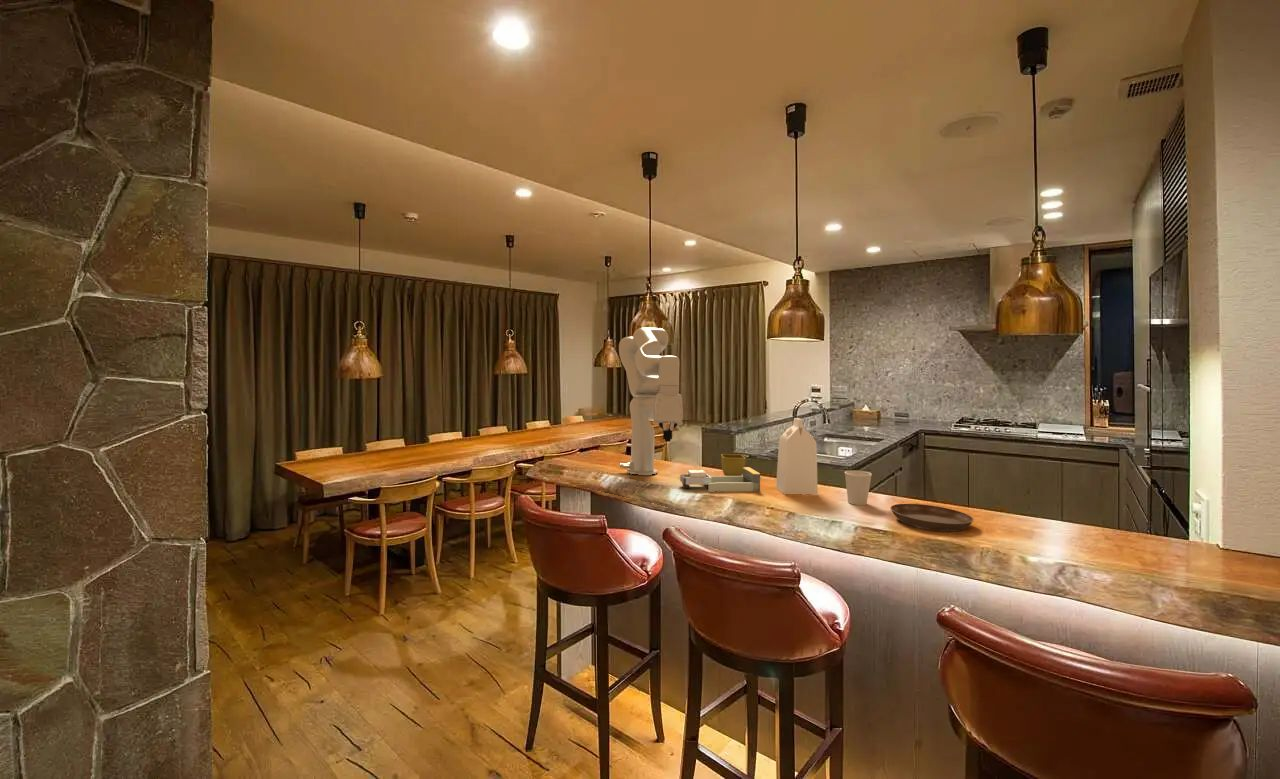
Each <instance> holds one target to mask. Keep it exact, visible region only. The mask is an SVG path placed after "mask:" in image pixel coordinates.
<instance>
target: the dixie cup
mask: <svg viewBox="0 0 1280 779" xmlns="http://www.w3.org/2000/svg"><path fill="white" fill-rule="evenodd" d="M844 475H845V476H844V477H845V484H846V497H847V503H848V504H850V503H851V505H853V504H856V505H855V506H866V504H868V499H869V498H868V497H869V491H870V487H871V482H872V481H871V479H872V476H873V474H872V472H869V471H864V470H845V471H844Z"/></svg>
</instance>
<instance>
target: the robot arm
mask: <svg viewBox="0 0 1280 779" xmlns="http://www.w3.org/2000/svg"><path fill="white" fill-rule="evenodd" d="M633 332H634V333H632V334H633V335H632V336H625V337H623V338H622V339H620V341H619V343H618V355H619V358H620V361H621V364H622V366H623V367H624V370H625V371H626V372H625V373H626V377H627V382H628V387H629V392H630V394H631V396H632V397H633V398H632V399H631V401H630V403H629V412H630V418H631V419H630V421H631V440H630V442H631V443H630V444H631V445H630V447H631V448H630V451H631V452H630V454H631V455H630V460H629V462H627V463H623V462H620V463H619V468H620V469H627V470H626V472H628V473H627V474H629V473H630V474H629V475H632V474H638V475H637V476H653V475H652V474H655V475H657V474H658V469H656V468H655V436H656V434H655V433H656V432H655V428H654V426H653V425H655V426H658V427H660V428H661V429H662V431H663V432H662V433H663V434H662V435H663V437H662V438H663V439H662V440H664V441H665V442H667V443H668V442H669V443H670V442H671V440H673V431H674V430H675V429H676V427H678V426H682V425H683V424H684V422H683V418H684V413H683V412H684V409H683V397H682V394H680V393H679V392H680V358H679V357H678V356H675V355H660V354H661V353H662V352H663V351H665V350H666V348H667V346H668V343H669V335H668V332H667V330H665V329H663V328H661V327H659V328H658V327H640V328H638V329H636V330H634V331H633ZM650 421H652V424H653V425H652V424H651V422H650ZM667 423H669V425H668V427H667ZM656 473H657V474H656Z"/></svg>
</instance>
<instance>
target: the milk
mask: <svg viewBox="0 0 1280 779" xmlns="http://www.w3.org/2000/svg"><path fill="white" fill-rule="evenodd" d="M817 444H818V443H817V441H816V440H815V438H814V437H813V436H812V435H811V434H810V433H809V432H808V431H807V430H806V429H805V428H804V424H803V419H802V418H799V417H794V418H793V422H792V425H791V426H790V427H788V428H786V430H785V431H784V432H783V434H781V435H780V437H779V439H778V452H777V453H778V454H777V467H776V480H775V481H776V484H775V488H776V487H777V488H778V490H779V492H781V491H782V492H783V493H784V494H815V495H814V496H818V491H819V490H818V454H817V453H818V451H817V450H818V447H817V446H818V445H817ZM777 488H776V489H777ZM782 492H781V493H782ZM783 493H782V494H783ZM784 494H783V495H784Z"/></svg>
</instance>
